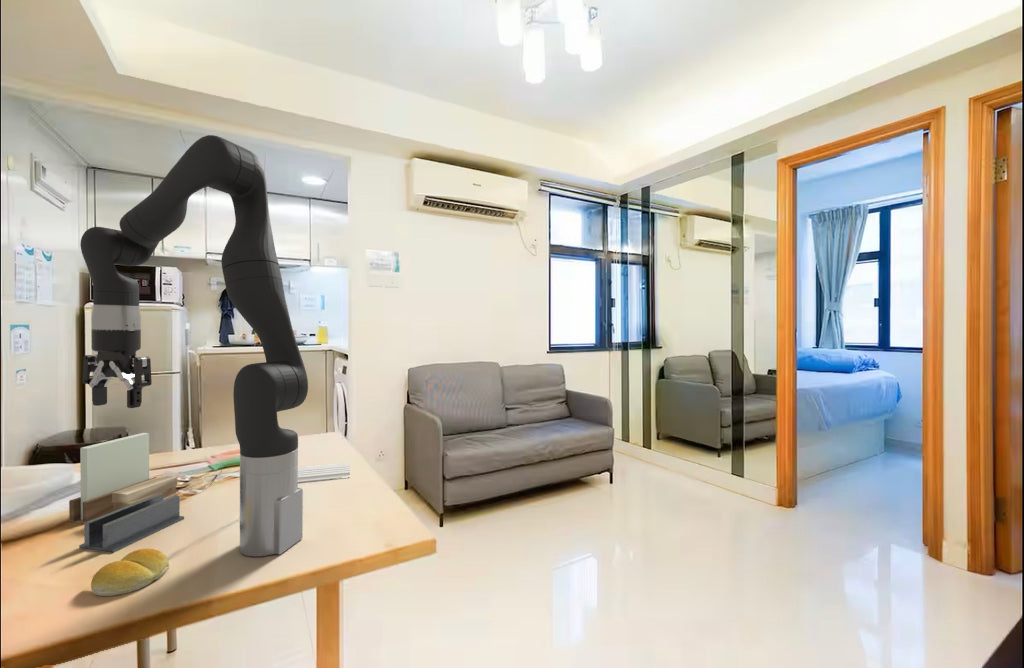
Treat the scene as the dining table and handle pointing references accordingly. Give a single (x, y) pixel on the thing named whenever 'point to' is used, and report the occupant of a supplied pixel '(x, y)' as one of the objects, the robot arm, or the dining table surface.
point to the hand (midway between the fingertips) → (116, 406)
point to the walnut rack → (93, 507)
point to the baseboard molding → (315, 472)
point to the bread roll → (130, 572)
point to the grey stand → (131, 523)
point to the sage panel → (113, 465)
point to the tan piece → (145, 491)
